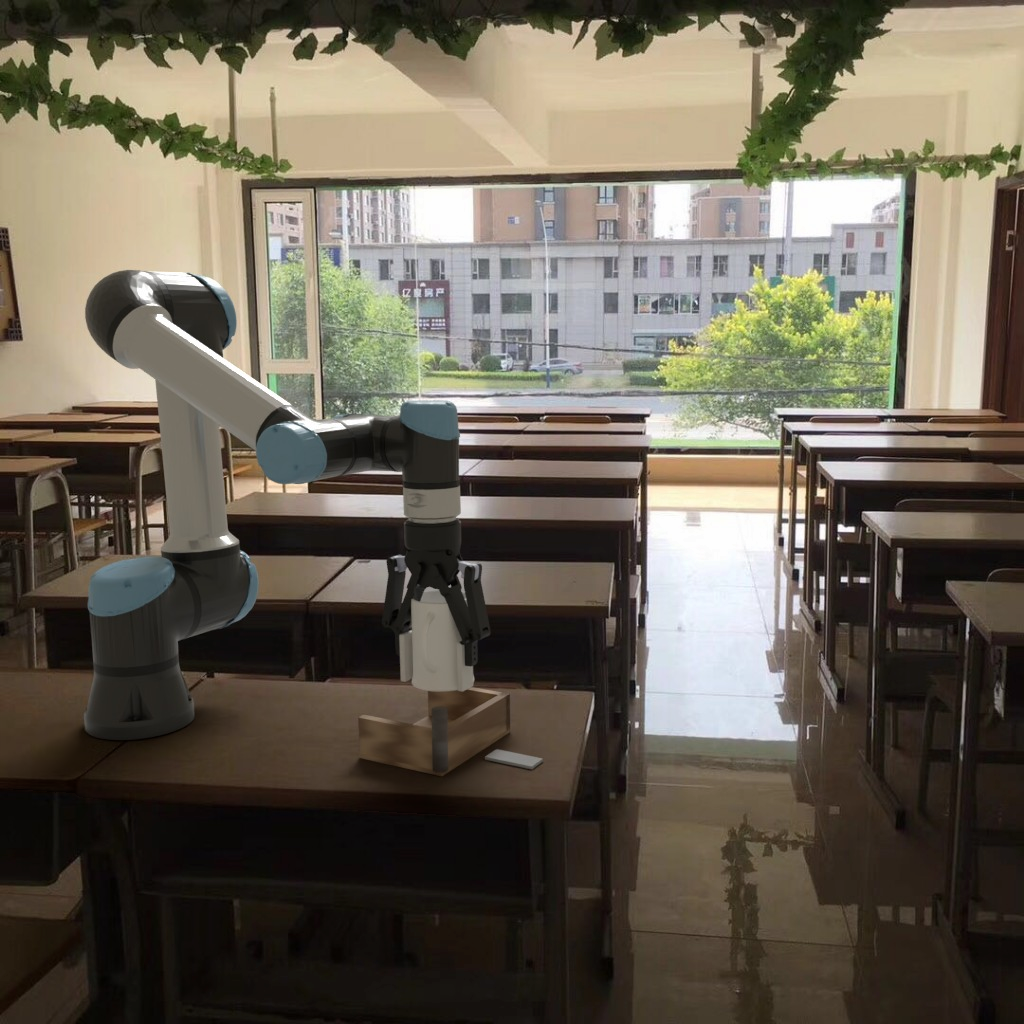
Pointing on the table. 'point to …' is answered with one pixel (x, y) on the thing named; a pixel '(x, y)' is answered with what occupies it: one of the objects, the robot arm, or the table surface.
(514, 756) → the grey rectangular slab
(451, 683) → the mug
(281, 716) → the table surface
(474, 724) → the keeper cradle
